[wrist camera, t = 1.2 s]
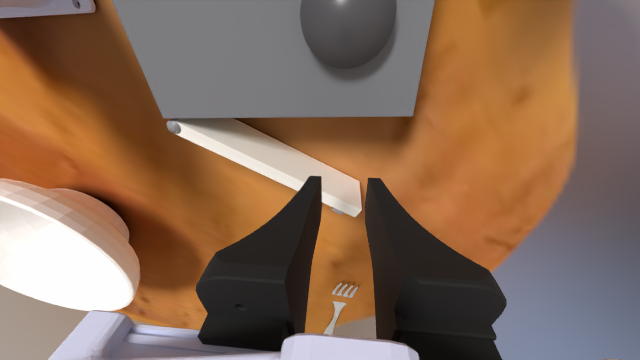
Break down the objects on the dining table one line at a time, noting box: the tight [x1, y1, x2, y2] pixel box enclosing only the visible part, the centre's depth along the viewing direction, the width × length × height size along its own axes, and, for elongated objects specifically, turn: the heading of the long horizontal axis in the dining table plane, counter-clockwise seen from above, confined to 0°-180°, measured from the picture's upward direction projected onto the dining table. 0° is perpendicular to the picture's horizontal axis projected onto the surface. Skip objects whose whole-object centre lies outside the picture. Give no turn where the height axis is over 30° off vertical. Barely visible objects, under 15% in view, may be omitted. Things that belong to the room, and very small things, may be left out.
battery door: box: [167, 118, 362, 217], centre depth 19 cm, size 16×2×4 cm, turn 62°
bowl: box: [0, 178, 140, 311], centre depth 26 cm, size 20×20×7 cm
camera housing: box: [112, 0, 435, 118], centre depth 13 cm, size 16×10×5 cm, turn 92°
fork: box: [323, 283, 358, 335], centre depth 38 cm, size 3×24×2 cm, turn 172°
